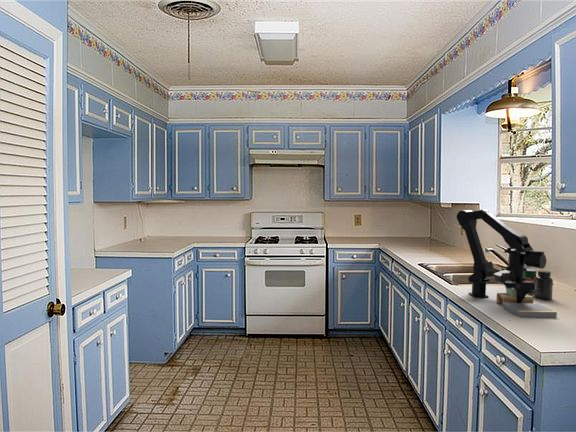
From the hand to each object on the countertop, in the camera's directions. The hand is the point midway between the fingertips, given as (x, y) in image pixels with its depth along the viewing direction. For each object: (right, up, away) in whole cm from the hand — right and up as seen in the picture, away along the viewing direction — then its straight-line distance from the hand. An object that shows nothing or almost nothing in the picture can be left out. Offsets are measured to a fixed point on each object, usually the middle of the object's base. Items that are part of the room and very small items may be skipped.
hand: (514, 301), depth 177 cm
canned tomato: (+17, 0, +21) cm, 27 cm away
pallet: (0, -1, 0) cm, 1 cm away
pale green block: (0, +3, 0) cm, 3 cm away
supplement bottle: (+19, -1, +11) cm, 22 cm away
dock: (-1, -2, -12) cm, 12 cm away
